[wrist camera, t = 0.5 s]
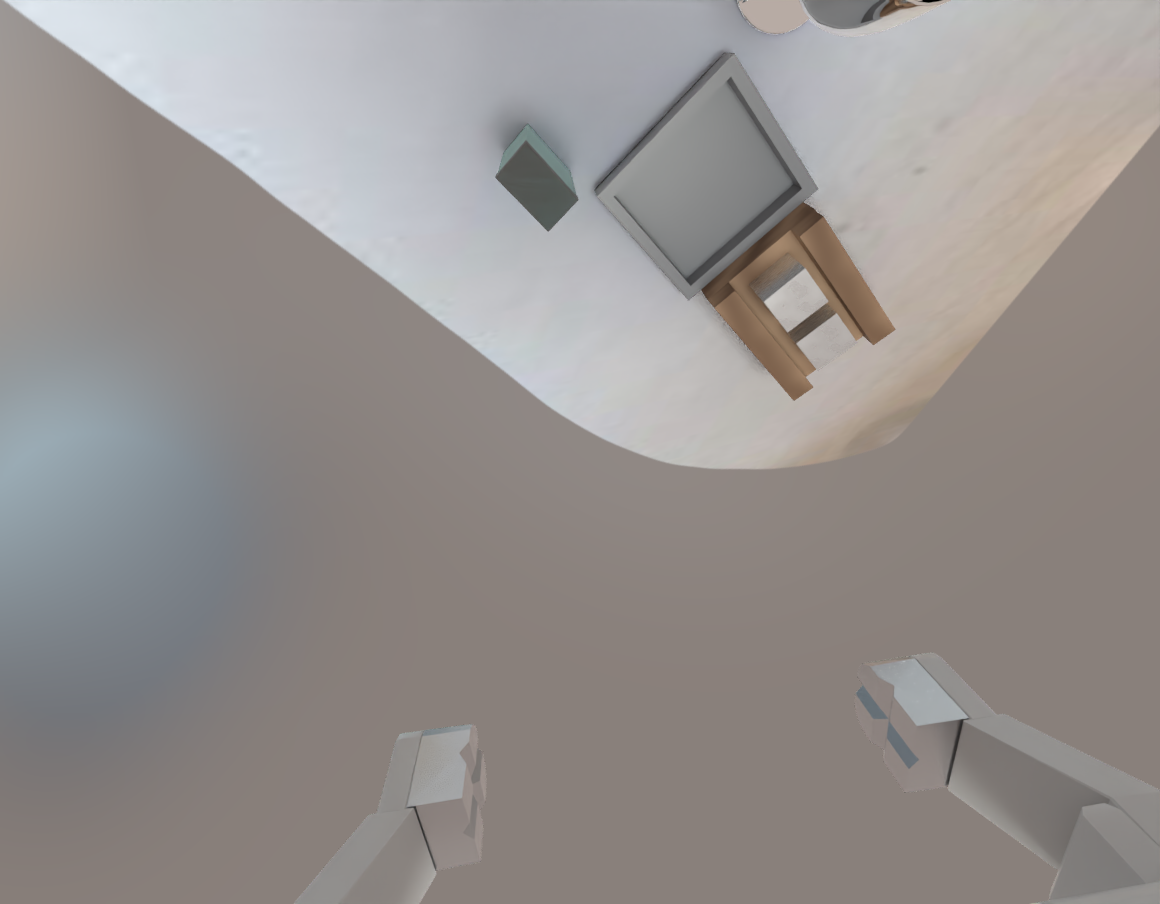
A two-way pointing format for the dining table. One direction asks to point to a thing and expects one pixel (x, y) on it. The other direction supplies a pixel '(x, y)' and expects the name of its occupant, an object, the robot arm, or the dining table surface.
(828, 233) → the groove board
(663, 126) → the tray
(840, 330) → the steel block
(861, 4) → the wineglass
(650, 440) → the dining table surface
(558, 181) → the green grey block
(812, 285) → the steel block
